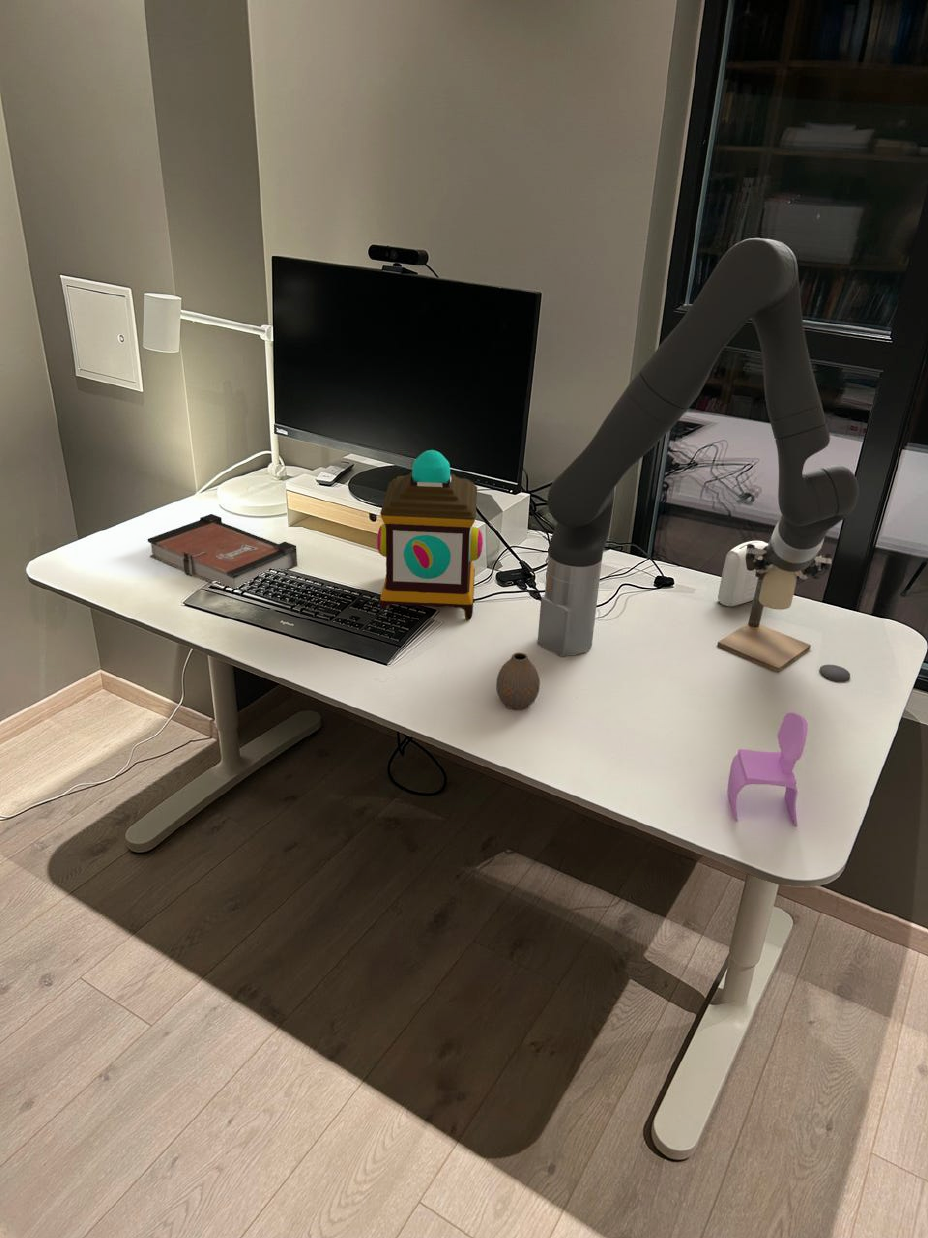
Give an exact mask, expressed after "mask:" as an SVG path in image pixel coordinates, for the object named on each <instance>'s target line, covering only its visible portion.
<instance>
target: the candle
mask: <svg viewBox="0 0 928 1238" xmlns="http://www.w3.org/2000/svg"><path fill="white" fill-rule="evenodd" d="M797 577H798V576H796V574H795V573H794V572H788V571H784V570H781V569H777V570H774V571H772V572H765V576H764V578H763V581H762V586H761V591H760V596H759V602H760V603H761V604H762V605H763V607H765V608H769V609H770V610H771V609H772V610H777V611H780V610H781V611H782V610H788V609H789V608H790V607H791V606H792V602H793V598H794V595H795V589H796V586H797V585H796V581H797Z"/></svg>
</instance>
